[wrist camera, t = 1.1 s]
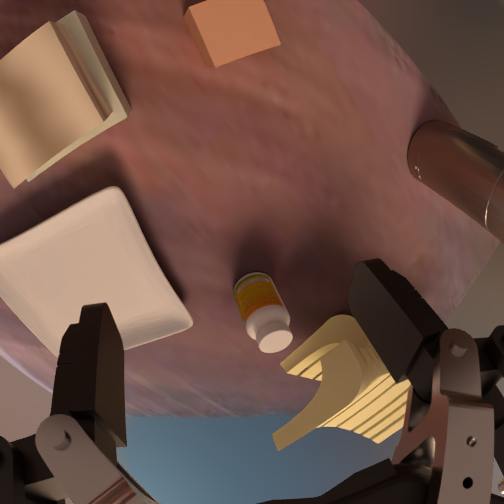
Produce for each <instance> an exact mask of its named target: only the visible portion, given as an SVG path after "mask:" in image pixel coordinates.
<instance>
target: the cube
mask: <svg viewBox="0 0 504 504" xmlns="http://www.w3.org/2000/svg"><path fill="white" fill-rule="evenodd" d="M183 18H184V20H185V22H186V24H187V26H188V29H189V31H190V33H191V35H192V37H193V40H194V42H195V44H196V46H197V49H198V51H199V53H200V55H201V58H202V60H203V62H204V65H205V66H206V67H214V68H216V67H219V66H221V65H224V64H226V63H229V62H231V61H234V60H237V59H239V58H242V57H245V56H248V55H251V54H254V53H256V52H259V51H262V50H265V49H269V48H272V47H275V46H278V45H281V44H280V41H279V38H278V36H277V33H276V30H275V28H274V25H273V23H272V20H271V18H270V15H269V13H268V10H267V8H266V5H265V3H264V0H207V1H204V2H201V3H198V4H195V5H193V6H190V7H188V9H187V11H186V13H185V15H184V17H183Z"/></svg>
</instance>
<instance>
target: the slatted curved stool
mask: <svg viewBox="0 0 504 504" xmlns="http://www.w3.org/2000/svg"><path fill="white" fill-rule="evenodd" d="M280 365H281V366H282V367H283V368H284V370H285V371H286V372H287V373H289V374H293V375H298V374H299V375H300V376H302V377H306V378H311V379H313V378H315V380H320V381H321V385H320V387H319V390H318V391H317V393H316V395H315V396H314V398H313V399H312V400H311V402H310V403H309V404H308V405H307V406H306V407H305V408H304V409H303V410H302V411H301V412H300V413H299V414H298V415H297V416H296V417H294V418H293V419H292V420H291V421H290V422H288V423H287V424H286V425H284V426H283V427H282V428H280V429H279V430H278V431H276V432H274V433H273V434H272V437H273V439H274V442H275V445H276V448H277V450H278V451H279V450H281V449H283V448H285V447H286V446H288V445H289V444H291V443H293V442H294V441H296V440H298V439H299V438H301V437H302V436H304V435H306V434H307V433H309V432H310V431H312V430H313V429H315V428H318V427H321V426H323V427H327V426H330V427H336V426H338V427H339V428H344V429H347V430H353V431H354V432H356V433H358V434H360V433H362V435H363V436H365V437H367V438H370V437H371V439H372V440H373V441H375V442H377V443H380V442H381V441H383V440H384V439H386V438H387V437H388V436H390V435H392V434H393V433H394V432H396V431H397V430H399V429H400V428H401V427H403V424H404V418H405V411H406V403H407V395H408V389H409V386H410V384H411V383H410V381H409V380H405V381H403V382H401V383H398V384H396V383H395V381H394V379H393V378H392V376H391V375H390V373H389V371H388V370H387V368H386V366H385V365H384V363H383V362H382V360H381V358H380V357H379V355H378V354H377V352H376V350H375V349H374V347H373V346H372V344H371V343H370V341H369V339H368V338H367V336H366V335H365V333H364V332H363V330H362V329H361V327H360V325H359V324H358V322H357V321H356V319H355V318H354V317H352V316H349V315H336V316H333V317H331V318H330V319H329V320H327V321H326V322H325V323H324V324H323V325H322V326H321V327H320V328H319V329H318V330H317V331H316V332H315V333H314V334H313V335H311V336H310V337H309V338H308V339H307V340H306V341H305V342H304V343H303V344H302V345H300V346H299V347H298V348H297V349H296V350H295V351H294V352H293V353H292V354H290V355H289V356H288V357H287V358H286V359H285V360H284V361H282V362H281V363H280Z"/></svg>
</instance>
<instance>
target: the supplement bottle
mask: <svg viewBox="0 0 504 504" xmlns="http://www.w3.org/2000/svg"><path fill="white" fill-rule="evenodd" d="M234 296H235V299H236V302H237V305H238V308H239V311H240V313H241V316H242V319H243V322H244V325H245V328H246V330H247V333H248V334H249V336H250V337H252V338H253V339H255V340H256V341H257V343H258V346H259V348H260V350H261V351H263V352H266V353H274V352H278V351H281V350H283V349H284V348H286V347H287V346H288V345H289V344H290V343H291V341H292V338H293V335H292V333H291V330H290V328H289V324H290V316H289V313H288V311H287V309H286V307H285V305H284V303H283V301H282V299H281V297H280V295H279V293H278V291H277V289H276V287H275V285H274V283H273V281H272V279H271V278H270V277H269V276H268V275H267V274H264V273H260V272H254V273H249V274H247V275H245V276H243V277H242V278H241V279H239V280H238V282H237V283H236V285H235V287H234Z"/></svg>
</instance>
